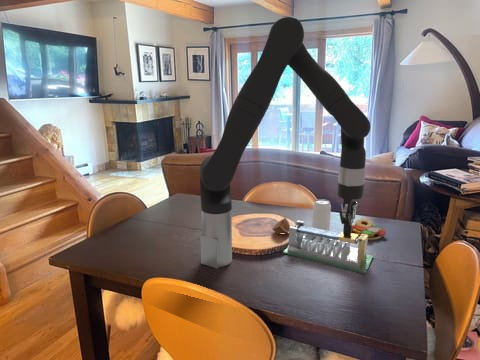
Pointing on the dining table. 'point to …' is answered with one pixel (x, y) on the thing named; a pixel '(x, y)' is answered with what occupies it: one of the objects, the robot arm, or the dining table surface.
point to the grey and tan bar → (328, 234)
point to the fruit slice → (282, 226)
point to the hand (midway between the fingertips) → (347, 234)
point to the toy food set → (367, 229)
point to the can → (321, 214)
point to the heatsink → (329, 250)
